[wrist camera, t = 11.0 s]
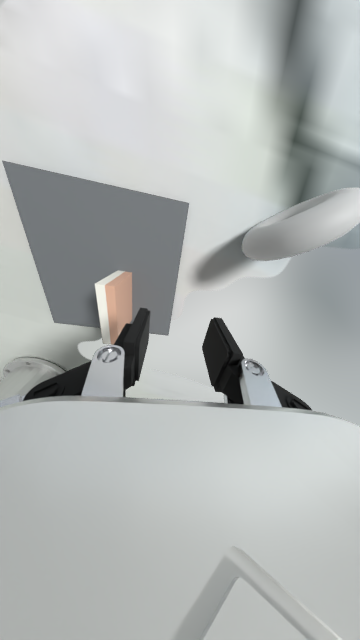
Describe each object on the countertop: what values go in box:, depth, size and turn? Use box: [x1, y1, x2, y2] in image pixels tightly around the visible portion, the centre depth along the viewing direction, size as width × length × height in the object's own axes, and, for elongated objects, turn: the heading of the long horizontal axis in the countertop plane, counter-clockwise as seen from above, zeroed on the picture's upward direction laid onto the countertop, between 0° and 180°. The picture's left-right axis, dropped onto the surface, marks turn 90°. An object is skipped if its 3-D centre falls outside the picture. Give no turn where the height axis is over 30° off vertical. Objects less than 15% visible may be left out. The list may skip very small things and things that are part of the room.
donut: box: [242, 188, 360, 261], centre depth 15 cm, size 10×4×10 cm, turn 115°
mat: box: [2, 161, 189, 335], centre depth 21 cm, size 20×20×1 cm
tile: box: [95, 270, 132, 345], centre depth 20 cm, size 8×2×7 cm, turn 171°
